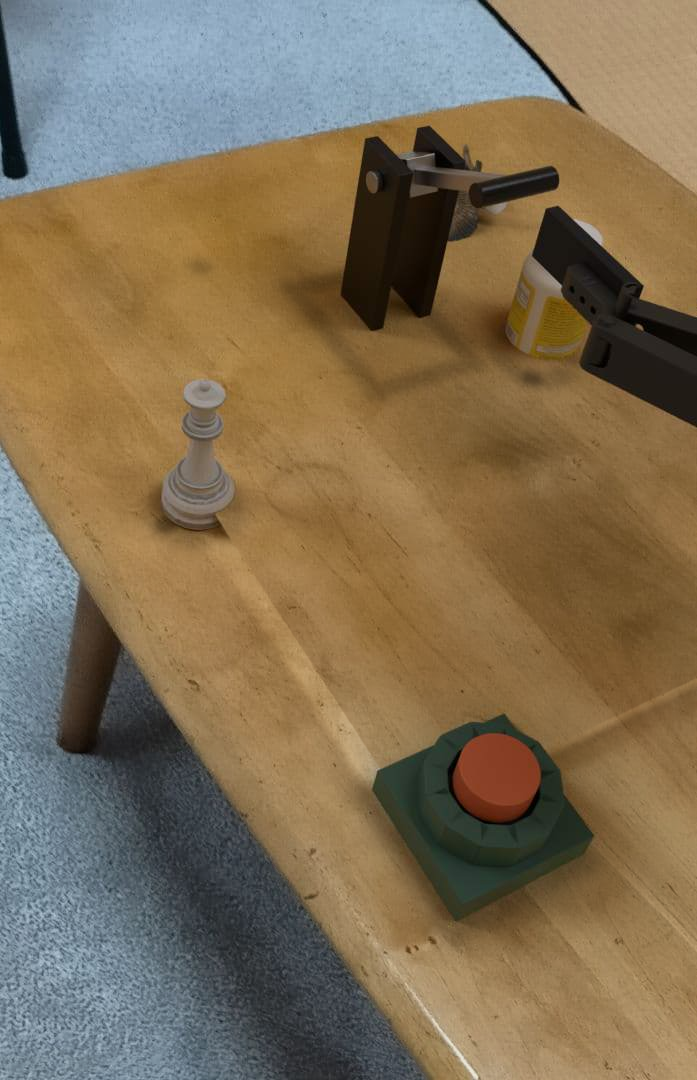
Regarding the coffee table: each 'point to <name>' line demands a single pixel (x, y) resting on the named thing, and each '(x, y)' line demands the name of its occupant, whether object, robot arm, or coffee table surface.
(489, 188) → the press lever
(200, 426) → the chess piece
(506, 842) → the button base
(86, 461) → the coffee table surface
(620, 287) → the robot arm
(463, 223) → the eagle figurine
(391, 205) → the press bracket
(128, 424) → the coffee table surface
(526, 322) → the supplement bottle
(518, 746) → the button
